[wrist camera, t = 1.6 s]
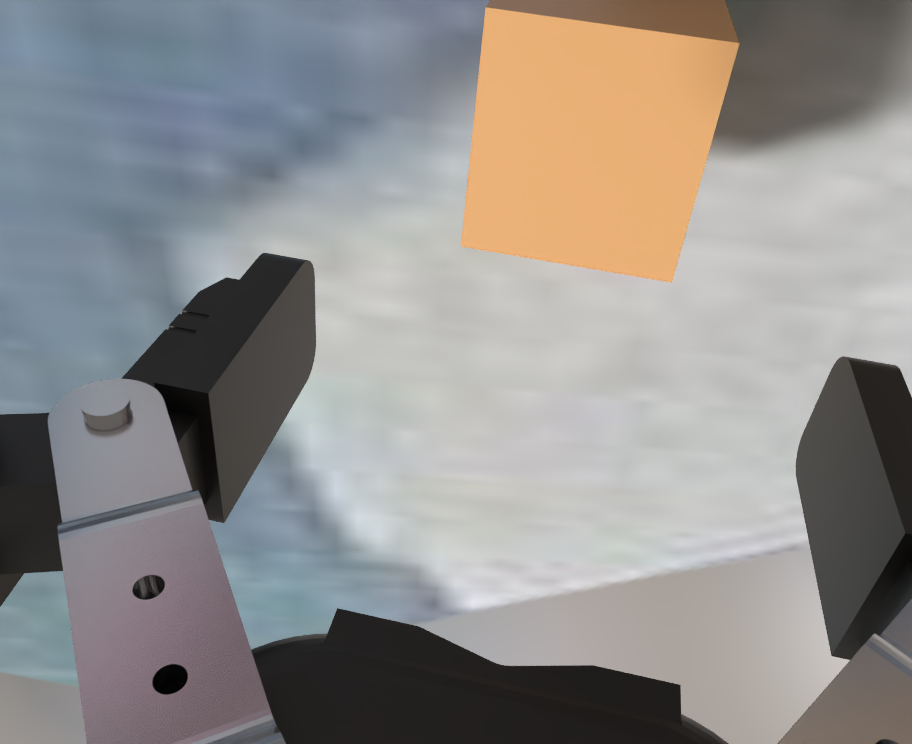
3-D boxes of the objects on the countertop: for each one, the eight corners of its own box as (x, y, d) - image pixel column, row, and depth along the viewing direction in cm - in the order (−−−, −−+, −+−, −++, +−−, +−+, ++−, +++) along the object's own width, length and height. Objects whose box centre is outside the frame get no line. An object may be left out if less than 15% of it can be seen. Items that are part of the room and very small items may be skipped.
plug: (525, -49, 24) (485, 7, 18) (717, -24, 24) (739, 43, 18) (501, 146, 28) (460, 246, 22) (667, 172, 27) (672, 282, 21)
